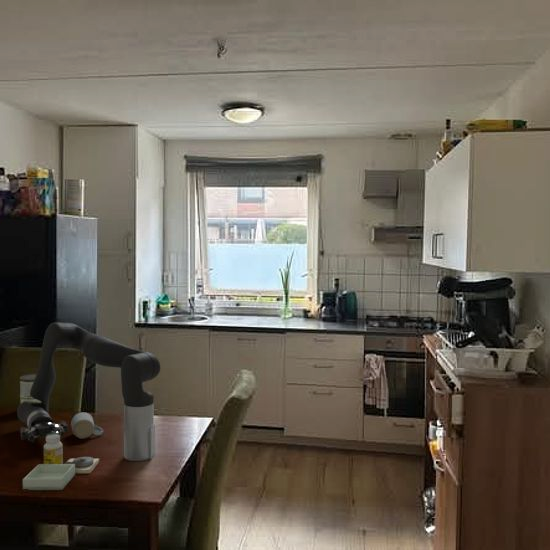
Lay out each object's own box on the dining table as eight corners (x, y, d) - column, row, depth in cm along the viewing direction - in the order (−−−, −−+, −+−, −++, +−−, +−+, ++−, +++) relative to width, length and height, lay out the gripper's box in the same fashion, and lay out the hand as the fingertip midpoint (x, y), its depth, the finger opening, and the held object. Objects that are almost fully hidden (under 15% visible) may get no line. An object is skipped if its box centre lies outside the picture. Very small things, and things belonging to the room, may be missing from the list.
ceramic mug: (72, 441, 189) (73, 419, 188) (70, 434, 196) (71, 412, 196) (104, 437, 193) (104, 416, 193) (101, 430, 201) (101, 410, 200)
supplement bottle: (66, 466, 166) (66, 435, 166) (51, 472, 162) (51, 440, 161) (54, 462, 169) (54, 432, 169) (39, 468, 164) (39, 437, 164)
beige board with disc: (99, 461, 170) (99, 452, 170) (90, 473, 161) (90, 463, 161) (70, 461, 170) (69, 452, 170) (59, 473, 161) (59, 464, 161)
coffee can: (16, 409, 226) (16, 375, 226) (42, 405, 233) (42, 372, 232) (23, 415, 218) (23, 380, 218) (50, 410, 225) (50, 376, 224)
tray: (75, 474, 161) (75, 464, 160) (62, 489, 150) (62, 479, 150) (38, 474, 160) (38, 464, 160) (22, 490, 150) (22, 479, 149)
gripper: (17, 415, 184) (23, 428, 170) (61, 409, 191) (71, 421, 177) (17, 437, 184) (23, 452, 170) (61, 430, 191) (71, 444, 178)
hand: (47, 436), depth 174 cm, fingers open, 8 cm apart
